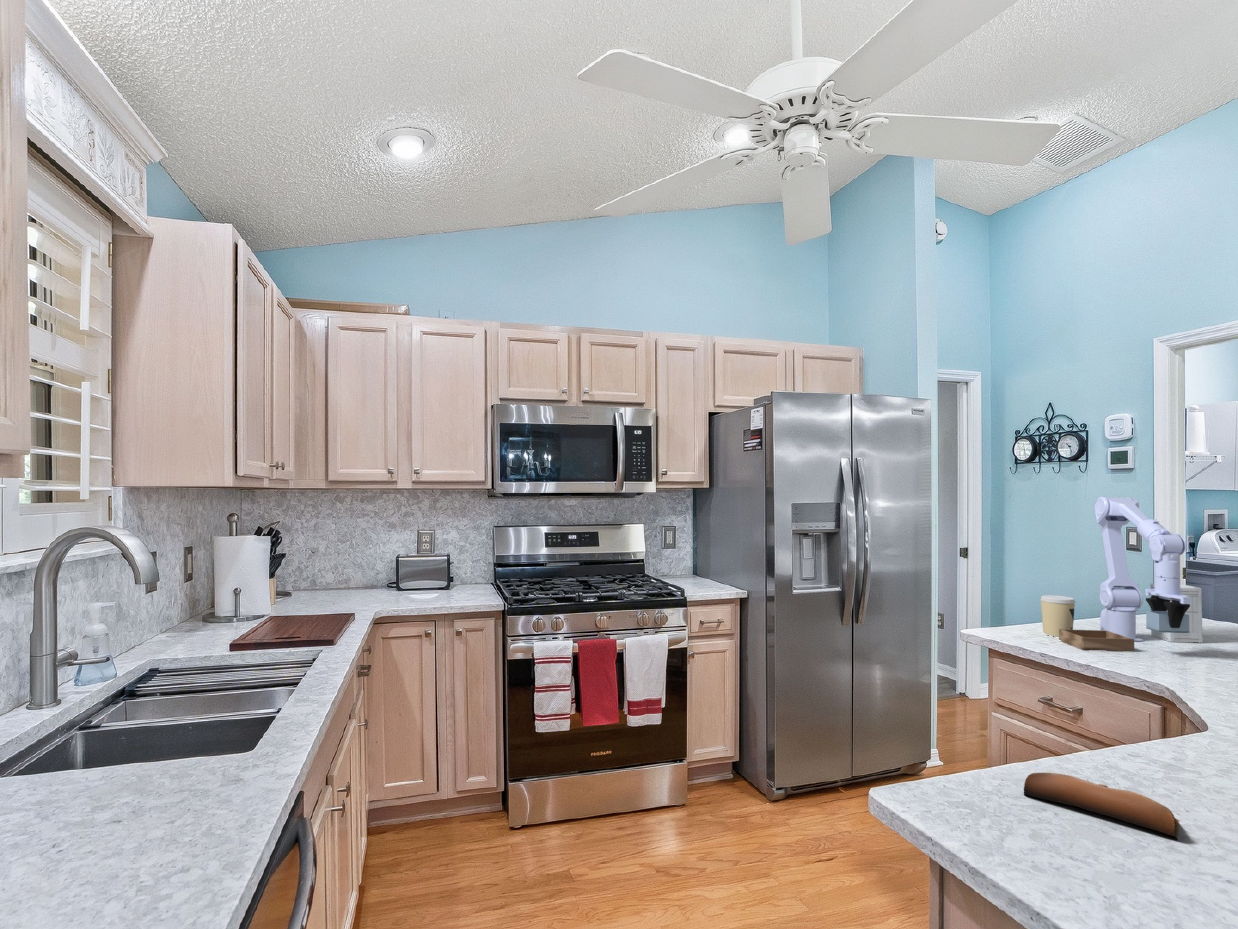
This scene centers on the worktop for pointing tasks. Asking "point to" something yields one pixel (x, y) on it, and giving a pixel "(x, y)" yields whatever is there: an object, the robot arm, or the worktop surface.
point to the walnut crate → (1096, 640)
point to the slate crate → (1165, 622)
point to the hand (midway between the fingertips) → (1167, 625)
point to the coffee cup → (1057, 613)
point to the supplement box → (1194, 618)
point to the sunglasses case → (1102, 800)
